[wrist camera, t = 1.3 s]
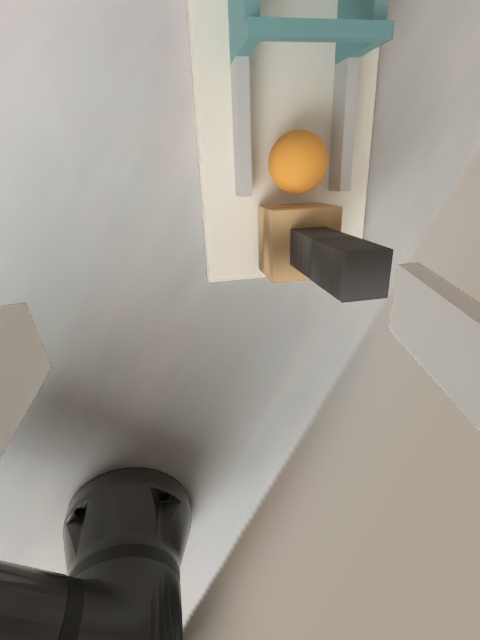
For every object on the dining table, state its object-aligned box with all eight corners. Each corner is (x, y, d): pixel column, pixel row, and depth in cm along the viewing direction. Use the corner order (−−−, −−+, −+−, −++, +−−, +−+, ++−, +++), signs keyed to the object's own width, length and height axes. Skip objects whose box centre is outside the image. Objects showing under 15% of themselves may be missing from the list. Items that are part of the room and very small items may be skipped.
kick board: (353, 265, 40) (372, 274, 36) (207, 278, 37) (212, 290, 34) (379, -62, 30) (410, -94, 26) (180, -75, 27) (183, -114, 23)
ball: (313, 191, 35) (336, 194, 30) (262, 193, 34) (277, 197, 29) (315, 131, 33) (340, 125, 28) (261, 133, 32) (277, 127, 27)
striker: (316, 263, 37) (406, 317, 24) (259, 268, 36) (317, 328, 23) (319, 202, 35) (419, 221, 21) (257, 205, 34) (322, 228, 20)
